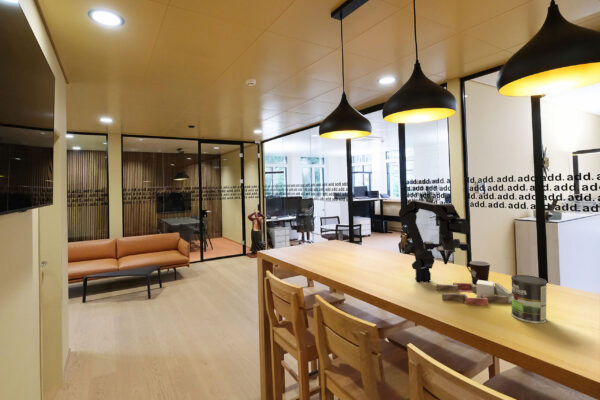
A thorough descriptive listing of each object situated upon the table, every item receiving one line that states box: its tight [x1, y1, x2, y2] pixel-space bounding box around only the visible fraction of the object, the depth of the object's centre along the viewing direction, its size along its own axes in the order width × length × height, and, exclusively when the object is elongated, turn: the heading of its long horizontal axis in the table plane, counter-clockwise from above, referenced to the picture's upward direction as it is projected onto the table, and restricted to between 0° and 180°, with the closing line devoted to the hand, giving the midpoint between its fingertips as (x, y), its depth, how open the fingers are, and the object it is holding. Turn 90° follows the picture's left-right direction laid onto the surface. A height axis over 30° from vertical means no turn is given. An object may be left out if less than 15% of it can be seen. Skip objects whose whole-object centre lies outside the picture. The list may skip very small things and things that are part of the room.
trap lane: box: [435, 282, 512, 306], centre depth 133 cm, size 26×20×4 cm
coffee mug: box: [466, 260, 491, 286], centre depth 150 cm, size 12×9×10 cm
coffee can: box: [510, 274, 548, 324], centre depth 110 cm, size 10×10×14 cm
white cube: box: [476, 280, 495, 298], centre depth 132 cm, size 6×6×6 cm
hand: (445, 264), depth 143 cm, fingers closed
